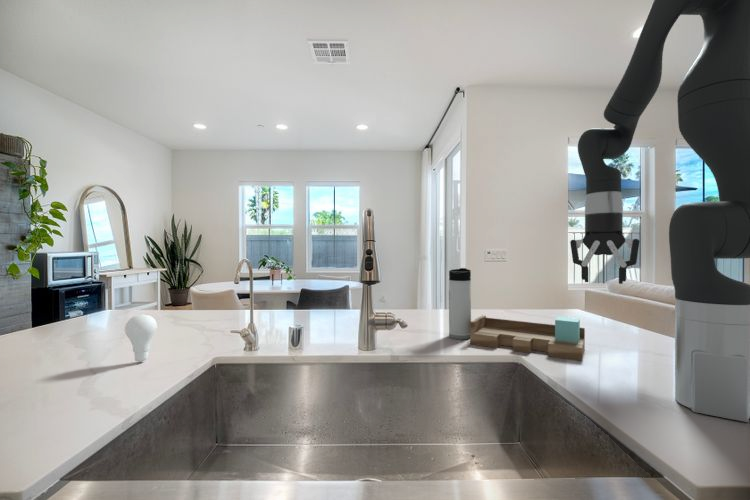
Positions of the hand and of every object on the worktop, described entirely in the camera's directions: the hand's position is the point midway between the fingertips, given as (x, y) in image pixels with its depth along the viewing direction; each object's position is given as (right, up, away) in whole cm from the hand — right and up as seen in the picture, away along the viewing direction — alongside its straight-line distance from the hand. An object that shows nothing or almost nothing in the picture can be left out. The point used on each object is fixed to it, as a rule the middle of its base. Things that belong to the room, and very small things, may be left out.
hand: (603, 282), depth 83 cm
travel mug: (-30, -18, +19) cm, 39 cm away
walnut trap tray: (-15, -18, +8) cm, 25 cm away
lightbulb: (-108, -18, -3) cm, 110 cm away
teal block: (-6, -15, +4) cm, 16 cm away
